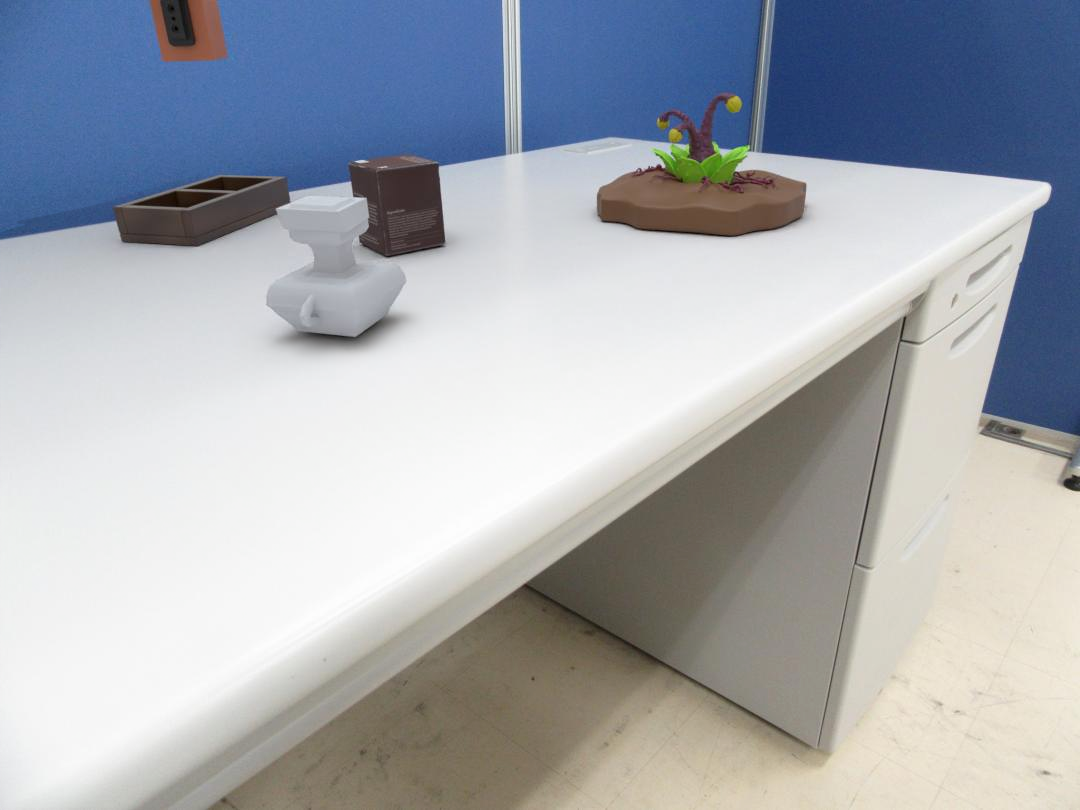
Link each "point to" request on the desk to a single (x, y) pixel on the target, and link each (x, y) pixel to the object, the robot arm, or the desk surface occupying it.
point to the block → (205, 31)
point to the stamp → (333, 270)
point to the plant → (701, 187)
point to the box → (400, 202)
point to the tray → (201, 209)
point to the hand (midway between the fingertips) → (192, 43)
